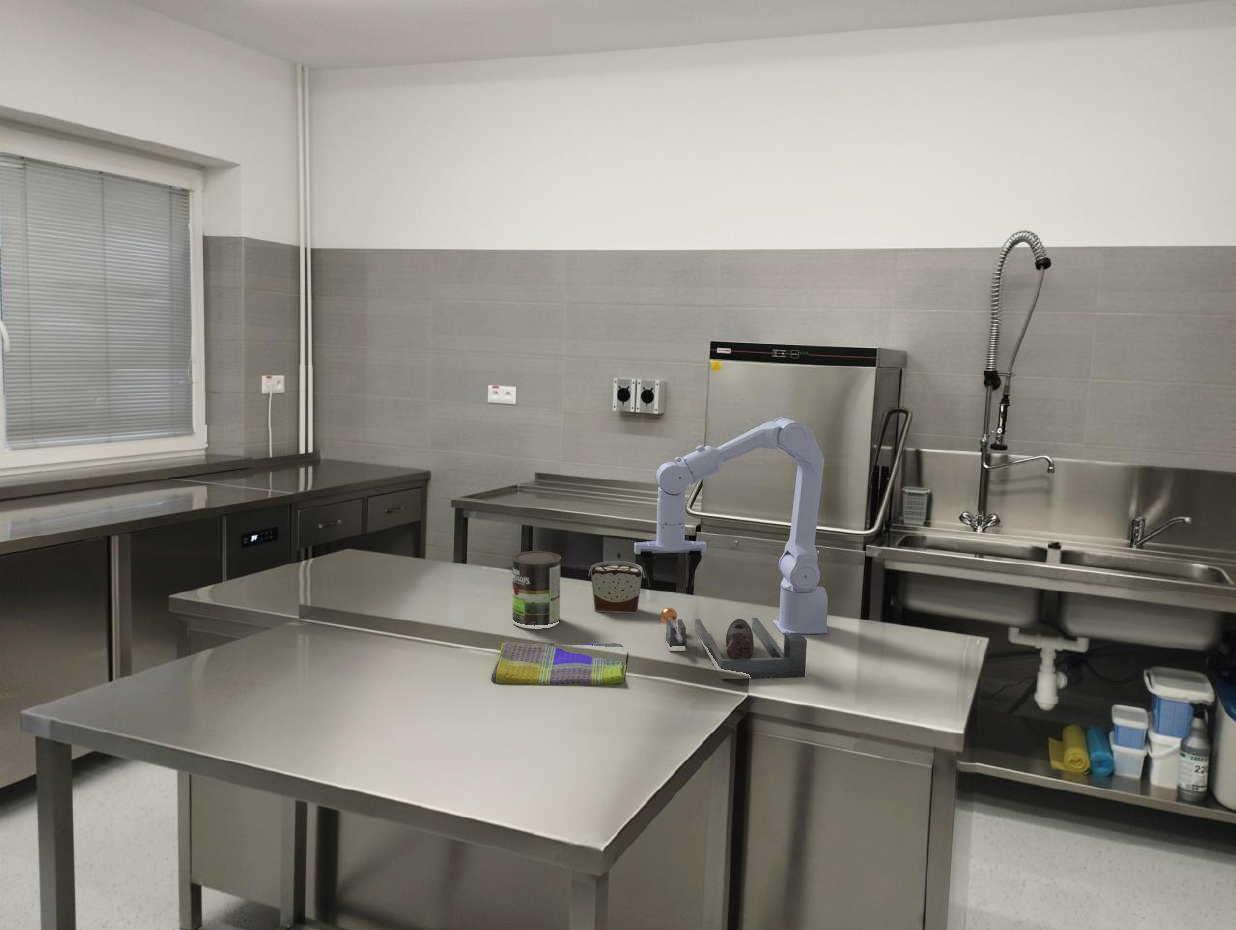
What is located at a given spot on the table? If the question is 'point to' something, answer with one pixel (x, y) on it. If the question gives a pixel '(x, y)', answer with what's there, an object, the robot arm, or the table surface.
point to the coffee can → (536, 588)
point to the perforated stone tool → (739, 640)
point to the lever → (672, 615)
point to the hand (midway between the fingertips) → (669, 587)
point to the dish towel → (554, 666)
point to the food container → (616, 586)
